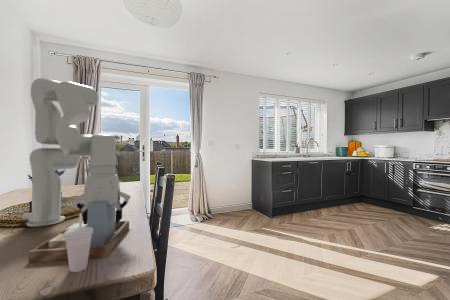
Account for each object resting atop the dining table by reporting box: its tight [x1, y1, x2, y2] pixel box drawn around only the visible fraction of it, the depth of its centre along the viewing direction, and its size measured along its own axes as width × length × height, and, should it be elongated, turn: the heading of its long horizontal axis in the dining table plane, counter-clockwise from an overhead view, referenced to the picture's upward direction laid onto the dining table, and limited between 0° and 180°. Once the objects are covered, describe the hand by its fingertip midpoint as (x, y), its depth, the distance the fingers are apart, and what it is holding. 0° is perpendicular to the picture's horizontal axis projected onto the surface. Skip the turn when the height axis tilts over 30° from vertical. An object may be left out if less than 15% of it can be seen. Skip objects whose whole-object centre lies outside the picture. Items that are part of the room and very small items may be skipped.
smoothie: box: [64, 212, 93, 273], centre depth 56 cm, size 6×6×14 cm
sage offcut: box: [65, 222, 87, 232], centre depth 75 cm, size 5×6×4 cm
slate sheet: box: [87, 202, 116, 246], centre depth 73 cm, size 5×10×14 cm, turn 10°
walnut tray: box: [27, 220, 130, 264], centre depth 72 cm, size 20×24×3 cm
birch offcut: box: [49, 234, 66, 249], centre depth 67 cm, size 5×6×4 cm
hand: (102, 222), depth 72 cm, fingers open, 9 cm apart
